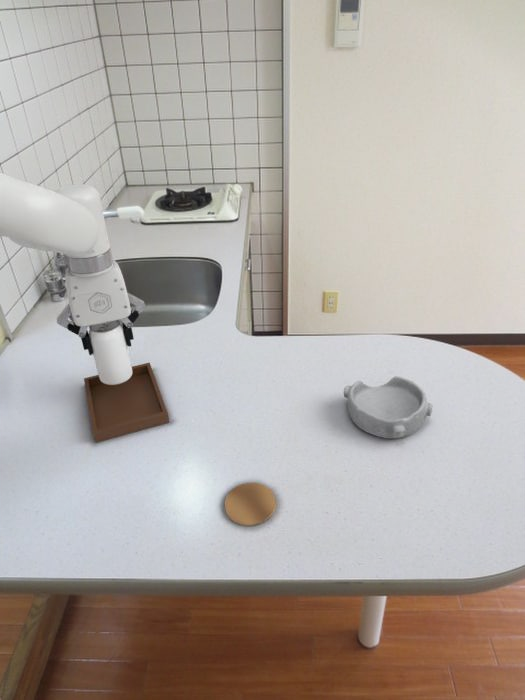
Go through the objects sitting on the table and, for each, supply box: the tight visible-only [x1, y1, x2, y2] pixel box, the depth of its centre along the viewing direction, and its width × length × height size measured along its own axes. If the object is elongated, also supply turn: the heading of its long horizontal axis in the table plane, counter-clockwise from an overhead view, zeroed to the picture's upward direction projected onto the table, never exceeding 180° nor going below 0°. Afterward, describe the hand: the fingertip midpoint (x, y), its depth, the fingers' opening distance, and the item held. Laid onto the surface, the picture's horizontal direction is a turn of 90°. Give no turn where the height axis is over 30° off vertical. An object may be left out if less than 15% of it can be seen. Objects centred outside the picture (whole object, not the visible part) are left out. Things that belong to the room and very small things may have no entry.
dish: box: [343, 375, 433, 439], centre depth 96 cm, size 14×14×5 cm
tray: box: [83, 362, 170, 444], centre depth 103 cm, size 18×14×2 cm
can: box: [88, 320, 133, 385], centre depth 100 cm, size 6×6×12 cm
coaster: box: [224, 482, 277, 527], centre depth 82 cm, size 8×8×1 cm
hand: (109, 346), depth 100 cm, fingers closed on can, 6 cm apart
